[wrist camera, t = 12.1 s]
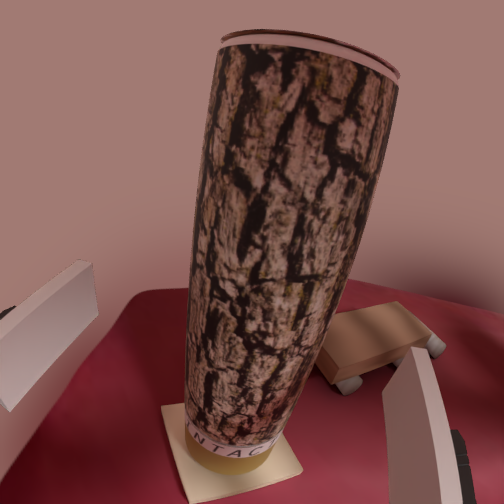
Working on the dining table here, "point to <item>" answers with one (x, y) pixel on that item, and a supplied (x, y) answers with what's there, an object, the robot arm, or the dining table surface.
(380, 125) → the bark-patterned canister
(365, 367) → the brown toy skateboard
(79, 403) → the dining table surface
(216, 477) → the coaster
